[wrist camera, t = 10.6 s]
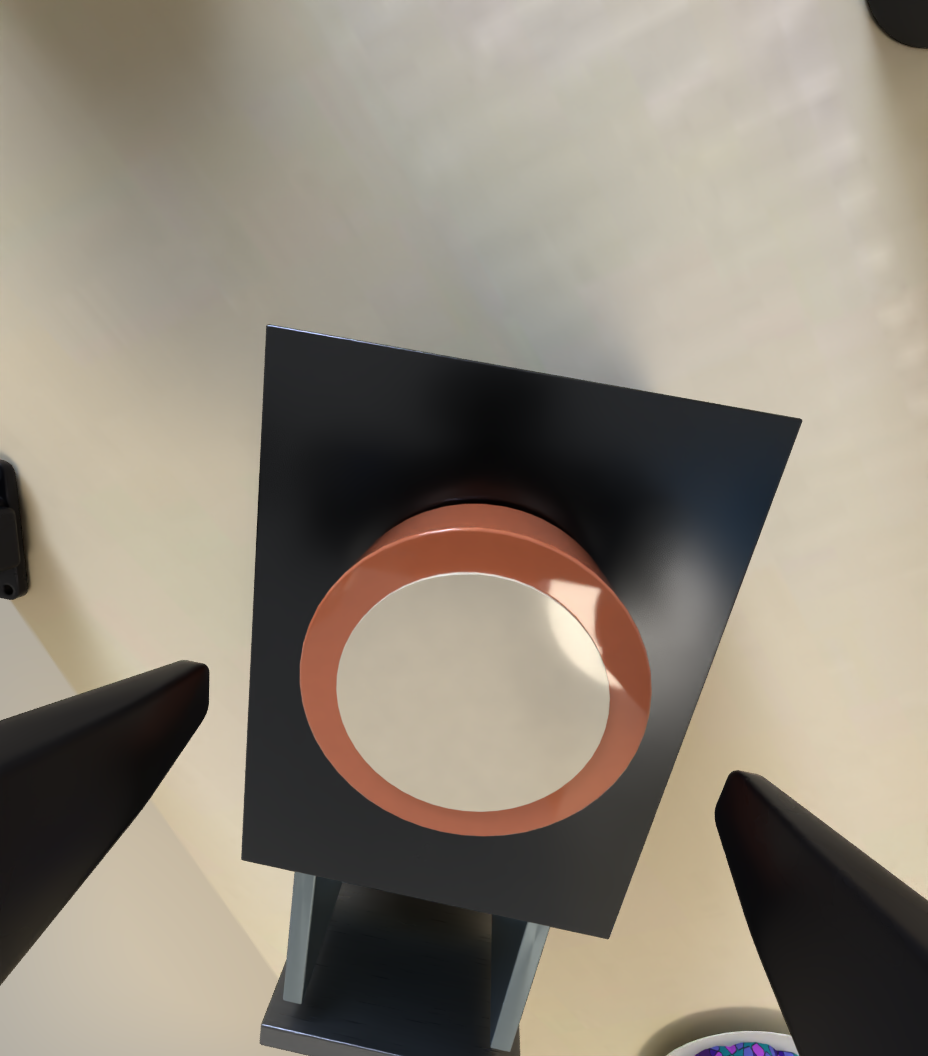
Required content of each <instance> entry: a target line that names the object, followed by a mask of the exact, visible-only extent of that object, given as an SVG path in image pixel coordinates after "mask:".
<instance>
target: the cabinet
mask: <svg viewBox="0 0 928 1056" xmlns="http://www.w3.org/2000/svg"><path fill="white" fill-rule="evenodd" d="M801 423H802V419H800V418H794V417H788V416H783V415H777V414H771V413H766V412H760V411H754V410H749V409H743V408H737V407H732V406H726V405H721V404H715V403H709V402H704V401H698V400H692V399H687V398H681V397H675V396H670V395H664V394H658V393H653V392H647V391H642V390H636V389H630V388H625V387H619V386H613V385H608V384H602V383H596V382H591V381H585V380H579V379H574V378H568V377H563V376H557V375H551V374H546V373H540V372H534V371H529V370H523V369H517V368H512V367H506V366H500V365H495V364H489V363H484V362H478V361H472V360H467V359H461V358H455V357H450V356H444V355H438V354H433V353H427V352H421V351H416V350H410V349H405V348H399V347H393V346H388V345H382V344H376V343H371V342H365V341H359V340H354V339H348V338H342V337H337V336H331V335H326V334H320V333H314V332H309V331H303V330H297V329H292V328H286V327H280V326H275V325H267V326H266V346H265V367H264V388H263V410H262V431H261V452H260V473H259V495H258V516H257V537H256V558H255V580H254V601H253V622H252V643H251V665H250V686H249V707H248V728H247V750H246V771H245V792H244V813H243V834H242V856H241V859H242V860H244V861H248V862H253V863H257V864H262V865H267V866H271V867H276V868H281V869H285V870H290V871H294V872H299V873H304V874H308V875H313V876H318V877H322V878H327V879H331V880H336V881H341V882H345V883H350V884H355V885H359V886H364V887H368V888H373V889H378V890H382V891H387V892H392V893H396V894H401V895H405V896H410V897H415V898H419V899H424V900H429V901H433V902H438V903H443V904H447V905H452V906H456V907H461V908H466V909H470V910H475V911H480V912H484V913H489V914H493V915H498V916H503V917H507V918H512V919H517V920H521V921H526V922H530V923H535V924H540V925H544V926H549V927H554V928H558V929H563V930H567V931H572V932H577V933H581V934H586V935H591V936H595V937H600V938H604V939H609V937H610V935H611V932H612V929H613V927H614V924H615V921H616V919H617V916H618V913H619V910H620V908H621V905H622V902H623V900H624V897H625V894H626V892H627V889H628V886H629V884H630V881H631V878H632V876H633V873H634V870H635V868H636V865H637V862H638V860H639V857H640V854H641V852H642V849H643V846H644V844H645V841H646V838H647V836H648V833H649V830H650V828H651V825H652V822H653V819H654V817H655V814H656V811H657V809H658V806H659V803H660V801H661V798H662V795H663V793H664V790H665V787H666V785H667V782H668V779H669V777H670V774H671V771H672V769H673V766H674V763H675V761H676V758H677V755H678V753H679V750H680V747H681V745H682V742H683V739H684V737H685V734H686V731H687V728H688V726H689V723H690V720H691V718H692V715H693V712H694V710H695V707H696V704H697V702H698V699H699V696H700V694H701V691H702V688H703V686H704V683H705V680H706V678H707V675H708V672H709V670H710V667H711V664H712V662H713V659H714V656H715V654H716V651H717V648H718V646H719V643H720V640H721V637H722V635H723V632H724V629H725V627H726V624H727V621H728V619H729V616H730V613H731V611H732V608H733V605H734V603H735V600H736V597H737V595H738V592H739V589H740V587H741V584H742V581H743V579H744V576H745V573H746V571H747V568H748V565H749V563H750V560H751V557H752V555H753V552H754V549H755V546H756V544H757V541H758V538H759V536H760V533H761V530H762V528H763V525H764V522H765V520H766V517H767V514H768V512H769V509H770V506H771V504H772V501H773V498H774V496H775V493H776V490H777V488H778V485H779V482H780V480H781V477H782V474H783V472H784V469H785V466H786V464H787V461H788V458H789V455H790V453H791V450H792V447H793V445H794V442H795V439H796V437H797V434H798V431H799V429H800V426H801ZM460 504H488V505H497V506H504V507H508V508H512V509H516V510H520V511H523V512H526V513H528V514H531V515H534V516H536V517H539V518H541V519H543V520H545V521H547V522H548V523H550V524H552V525H554V526H556V527H557V528H559V529H561V530H562V531H563V532H565V533H566V534H567V535H569V536H570V537H571V538H573V539H574V540H575V541H576V542H577V543H578V544H579V545H580V546H581V547H582V548H583V549H584V550H585V551H586V552H587V553H588V554H589V555H590V556H591V557H592V559H593V560H594V561H595V563H596V564H597V565H598V567H599V568H600V569H601V571H602V572H603V574H604V575H605V577H606V578H607V580H608V581H609V583H610V584H611V586H612V587H613V589H614V590H615V592H616V593H617V595H618V596H619V597H620V599H621V600H622V602H623V603H624V605H625V606H626V608H627V609H628V611H629V613H630V615H631V617H632V618H633V620H634V622H635V624H636V626H637V627H638V629H639V632H640V634H641V637H642V640H643V642H644V645H645V648H646V651H647V656H648V660H649V665H650V670H651V685H652V696H651V705H650V714H649V718H648V722H647V726H646V730H645V733H644V736H643V738H642V740H641V743H640V745H639V747H638V750H637V752H636V754H635V755H634V757H633V759H632V760H631V762H630V763H629V765H628V767H627V768H626V770H625V771H624V772H623V773H622V775H621V776H620V777H619V778H618V779H617V781H616V782H615V783H614V784H613V785H612V786H611V787H610V788H609V789H608V790H607V791H606V792H605V793H603V794H602V795H601V796H600V797H599V798H598V799H596V800H595V801H594V802H592V803H591V804H589V805H588V806H587V807H585V808H584V809H582V810H581V811H579V812H577V813H575V814H573V815H571V816H569V817H568V818H566V819H564V820H561V821H559V822H556V823H554V824H551V825H549V826H546V827H543V828H539V829H535V830H532V831H528V832H524V833H517V834H511V835H505V836H485V837H483V836H465V835H457V834H451V833H445V832H440V831H436V830H432V829H429V828H425V827H421V826H419V825H416V824H413V823H411V822H408V821H406V820H403V819H401V818H399V817H397V816H395V815H393V814H391V813H389V812H387V811H385V810H383V809H382V808H380V807H379V806H377V805H376V804H374V803H372V802H371V801H369V800H368V799H367V798H365V797H364V796H363V795H362V794H360V793H359V792H358V791H357V790H355V789H354V788H353V787H352V786H351V785H350V784H349V783H348V782H347V781H346V780H345V779H344V778H343V777H342V776H341V775H340V774H339V773H338V772H337V771H336V769H335V768H334V767H333V766H332V764H331V763H330V762H329V760H328V759H327V758H326V757H325V755H324V753H323V751H322V750H321V748H320V746H319V745H318V743H317V741H316V740H315V737H314V735H313V733H312V730H311V728H310V726H309V724H308V721H307V717H306V714H305V710H304V707H303V703H302V696H301V689H300V660H301V654H302V647H303V642H304V639H305V636H306V632H307V629H308V626H309V623H310V621H311V619H312V617H313V615H314V613H315V611H316V609H317V607H318V605H319V604H320V602H321V601H322V599H323V598H324V596H325V595H326V594H327V592H328V591H329V589H330V588H331V587H332V586H333V585H334V584H335V583H336V581H337V580H338V579H339V578H340V577H341V576H342V575H343V574H344V573H345V572H346V571H347V570H348V569H349V568H350V567H351V566H352V565H353V564H354V563H355V562H356V561H357V560H358V559H359V558H360V557H361V556H362V555H363V554H364V553H365V552H366V551H367V549H368V548H369V547H370V546H371V545H372V544H373V543H374V542H375V541H376V540H378V539H379V538H380V537H381V536H383V535H384V534H385V533H386V532H388V531H389V530H390V529H392V528H393V527H395V526H397V525H398V524H400V523H402V522H403V521H405V520H407V519H409V518H411V517H414V516H416V515H418V514H421V513H423V512H426V511H430V510H433V509H437V508H441V507H445V506H452V505H460Z"/></svg>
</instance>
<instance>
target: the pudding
mask: <svg viewBox="0 0 928 1056" xmlns="http://www.w3.org/2000/svg"><path fill="white" fill-rule="evenodd" d="M666 1056H799V1054H798V1052H797V1049H796V1047H795V1044H794V1042H793V1039H792V1037H791V1035H787V1034H781V1033H774V1032H766V1031H738V1032H727V1033H721V1034H716V1035H711V1036H707V1037H703V1038H700V1039H698V1040H695V1041H692V1042H689V1043H687V1044H685V1045H683V1046H681V1047H679V1048H677V1049H675V1050H673V1051H672V1052H670V1053H669V1054H668V1055H666Z"/></svg>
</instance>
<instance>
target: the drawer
mask: <svg viewBox="0 0 928 1056" xmlns="http://www.w3.org/2000/svg"><path fill="white" fill-rule="evenodd" d="M549 929H550V927H549V926H544V925H540V924H535V923H530V922H526V921H521V920H517V919H512V918H507V917H503V916H498V915H493V914H489V913H484V912H480V911H475V910H470V909H466V908H461V907H456V906H452V905H447V904H443V903H438V902H433V901H429V900H424V899H419V898H415V897H410V896H405V895H401V894H396V893H392V892H387V891H382V890H378V889H373V888H368V887H364V886H359V885H355V884H350V883H345V882H341V881H336V880H331V879H327V878H322V877H318V876H313V875H308V874H304V873H299V872H295V874H294V885H293V896H292V907H291V918H290V928H289V939H288V950H287V959H286V962H285V965H284V967H283V970H282V972H281V975H280V977H279V980H278V983H277V985H276V988H275V990H274V993H273V995H272V998H271V1001H270V1003H269V1006H268V1008H267V1011H266V1013H265V1016H264V1019H263V1021H262V1024H261V1033H260V1044H261V1045H265V1046H269V1047H273V1048H278V1049H282V1050H286V1051H291V1052H295V1053H300V1054H304V1055H308V1056H520V1034H519V1023H520V1020H521V1016H522V1013H523V1010H524V1007H525V1004H526V1001H527V998H528V994H529V991H530V988H531V985H532V982H533V979H534V976H535V973H536V969H537V966H538V963H539V960H540V957H541V954H542V951H543V947H544V944H545V941H546V938H547V935H548V932H549Z"/></svg>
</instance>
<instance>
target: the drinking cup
mask: <svg viewBox="0 0 928 1056" xmlns="http://www.w3.org/2000/svg"><path fill="white" fill-rule="evenodd" d="M868 1H869V5H870V8H871V10H872V12H873V15H874V16H875V18H876V20H877V21H878V23H879V24H880V26H881V27H882V28H883V29H884V30H885V31H886V32H887V33H888V34H889V35H890V36H892V37H893V38H895V39H896V40H898V41H900V42H902V43H904V44H907V45H910V46H914V47H919V48H928V0H868Z"/></svg>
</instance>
